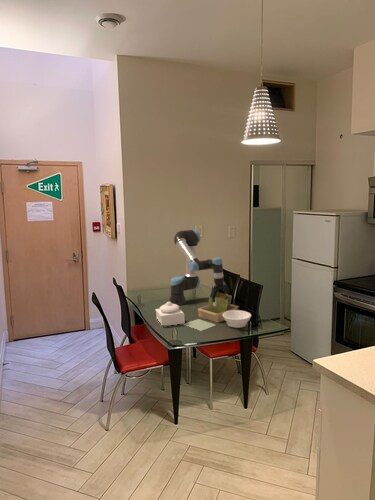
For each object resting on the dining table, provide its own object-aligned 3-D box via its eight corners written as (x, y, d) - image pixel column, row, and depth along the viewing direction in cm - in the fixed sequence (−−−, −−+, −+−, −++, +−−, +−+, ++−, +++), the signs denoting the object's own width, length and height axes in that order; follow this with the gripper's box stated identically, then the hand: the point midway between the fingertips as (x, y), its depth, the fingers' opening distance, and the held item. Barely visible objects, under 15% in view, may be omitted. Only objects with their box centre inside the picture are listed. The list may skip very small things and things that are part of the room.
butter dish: (184, 323, 281) (183, 303, 279) (161, 327, 276) (160, 307, 273) (177, 316, 298) (176, 297, 295) (155, 320, 292) (154, 300, 290)
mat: (183, 324, 281) (183, 324, 281) (198, 319, 291) (198, 318, 291) (200, 331, 267) (200, 330, 267) (216, 325, 278) (216, 324, 278)
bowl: (231, 318, 292) (231, 308, 291) (256, 323, 280) (256, 313, 279) (217, 326, 275) (217, 316, 274) (243, 332, 263) (243, 321, 262)
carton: (196, 317, 297) (196, 309, 296) (220, 308, 316) (220, 301, 315) (215, 323, 282) (215, 315, 281) (239, 314, 301) (239, 306, 300)
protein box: (225, 318, 292) (228, 300, 288) (207, 313, 298) (209, 295, 293) (229, 313, 302) (232, 295, 297) (211, 308, 307) (213, 290, 302)
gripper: (211, 281, 283) (213, 308, 285) (232, 274, 300) (234, 300, 302) (204, 280, 288) (206, 307, 291) (225, 274, 305) (227, 299, 308)
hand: (220, 303), depth 296 cm, fingers open, 13 cm apart
